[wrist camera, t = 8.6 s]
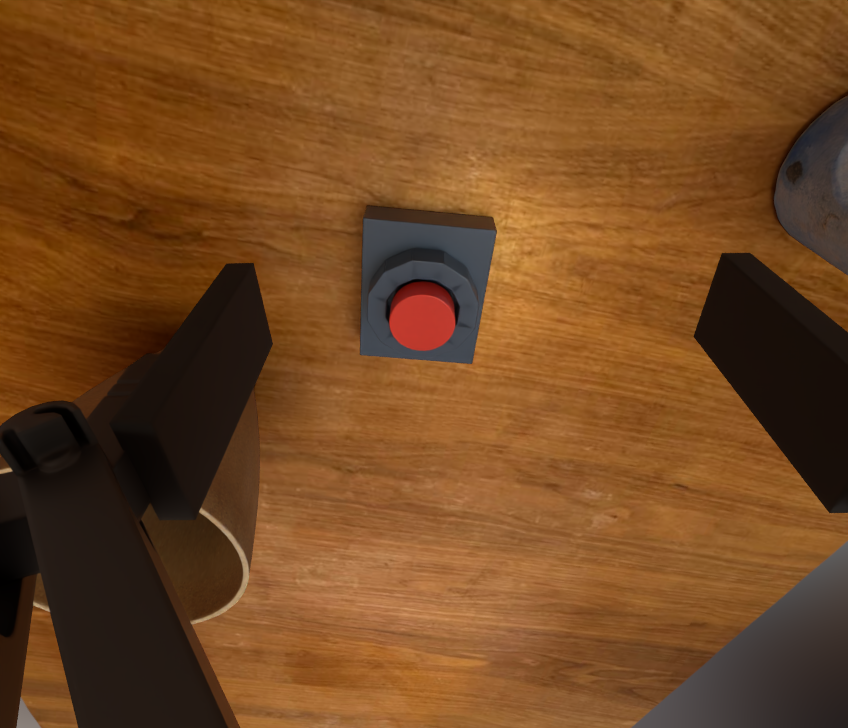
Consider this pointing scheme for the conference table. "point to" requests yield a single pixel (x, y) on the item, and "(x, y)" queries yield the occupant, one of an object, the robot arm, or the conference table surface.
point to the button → (422, 316)
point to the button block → (424, 275)
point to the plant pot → (202, 523)
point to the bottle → (818, 187)
